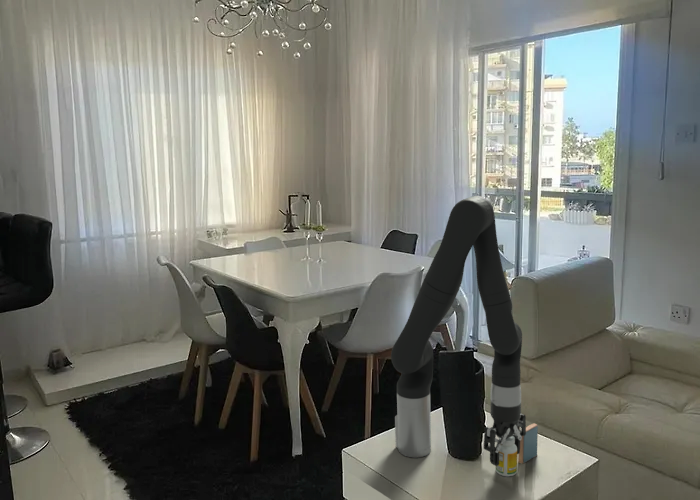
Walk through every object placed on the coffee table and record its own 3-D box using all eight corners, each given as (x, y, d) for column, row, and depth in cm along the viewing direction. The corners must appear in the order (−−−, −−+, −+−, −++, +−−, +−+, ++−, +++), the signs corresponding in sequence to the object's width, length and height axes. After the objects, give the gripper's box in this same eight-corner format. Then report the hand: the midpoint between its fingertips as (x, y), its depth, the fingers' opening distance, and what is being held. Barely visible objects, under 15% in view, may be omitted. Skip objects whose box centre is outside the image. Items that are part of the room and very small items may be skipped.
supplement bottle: (494, 475, 149) (494, 440, 147) (496, 464, 154) (496, 431, 152) (516, 478, 147) (516, 443, 146) (517, 467, 152) (518, 433, 150)
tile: (518, 462, 155) (518, 430, 153) (532, 453, 159) (533, 423, 157) (523, 464, 154) (523, 432, 152) (537, 455, 158) (538, 425, 156)
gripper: (510, 387, 154) (509, 444, 156) (475, 402, 145) (475, 462, 148) (535, 396, 148) (533, 454, 151) (500, 412, 139) (499, 474, 142)
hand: (505, 458), depth 149 cm, fingers open, 8 cm apart
